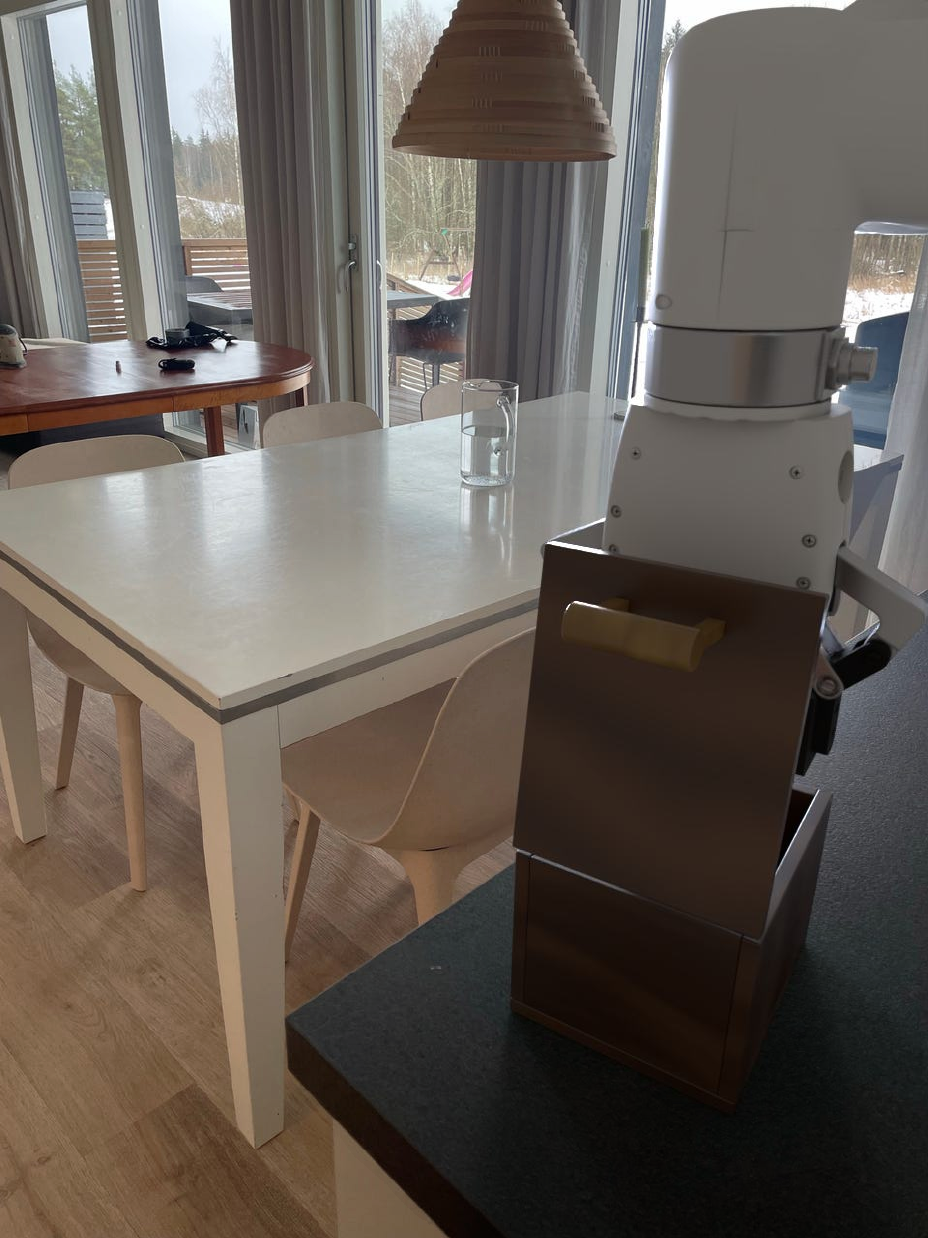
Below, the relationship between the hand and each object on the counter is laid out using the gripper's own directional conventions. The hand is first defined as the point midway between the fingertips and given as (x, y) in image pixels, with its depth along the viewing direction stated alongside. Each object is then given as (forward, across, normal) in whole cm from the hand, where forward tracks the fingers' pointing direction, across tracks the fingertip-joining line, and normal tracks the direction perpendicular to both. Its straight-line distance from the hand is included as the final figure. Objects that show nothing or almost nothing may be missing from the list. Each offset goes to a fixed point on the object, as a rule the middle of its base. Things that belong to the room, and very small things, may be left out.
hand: (701, 733), depth 45 cm
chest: (+15, 0, +1) cm, 15 cm away
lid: (-3, 0, +6) cm, 6 cm away
